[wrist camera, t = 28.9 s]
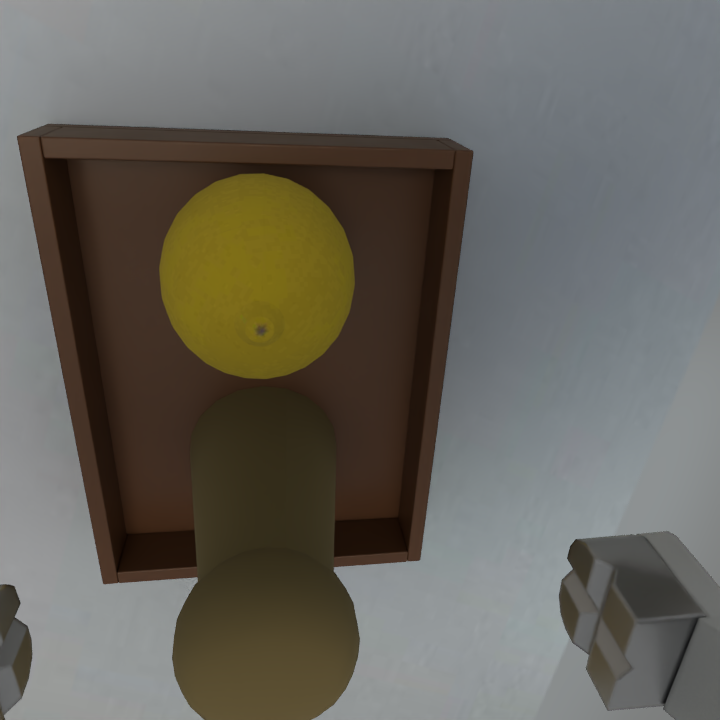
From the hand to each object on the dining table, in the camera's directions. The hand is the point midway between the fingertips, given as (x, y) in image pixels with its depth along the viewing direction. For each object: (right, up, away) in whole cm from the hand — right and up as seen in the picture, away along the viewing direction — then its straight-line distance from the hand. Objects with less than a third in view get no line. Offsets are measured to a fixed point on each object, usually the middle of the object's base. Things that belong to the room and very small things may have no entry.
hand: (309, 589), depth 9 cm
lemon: (-3, +8, +12) cm, 15 cm away
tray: (-3, +3, +15) cm, 16 cm away
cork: (-3, 0, +17) cm, 17 cm away
